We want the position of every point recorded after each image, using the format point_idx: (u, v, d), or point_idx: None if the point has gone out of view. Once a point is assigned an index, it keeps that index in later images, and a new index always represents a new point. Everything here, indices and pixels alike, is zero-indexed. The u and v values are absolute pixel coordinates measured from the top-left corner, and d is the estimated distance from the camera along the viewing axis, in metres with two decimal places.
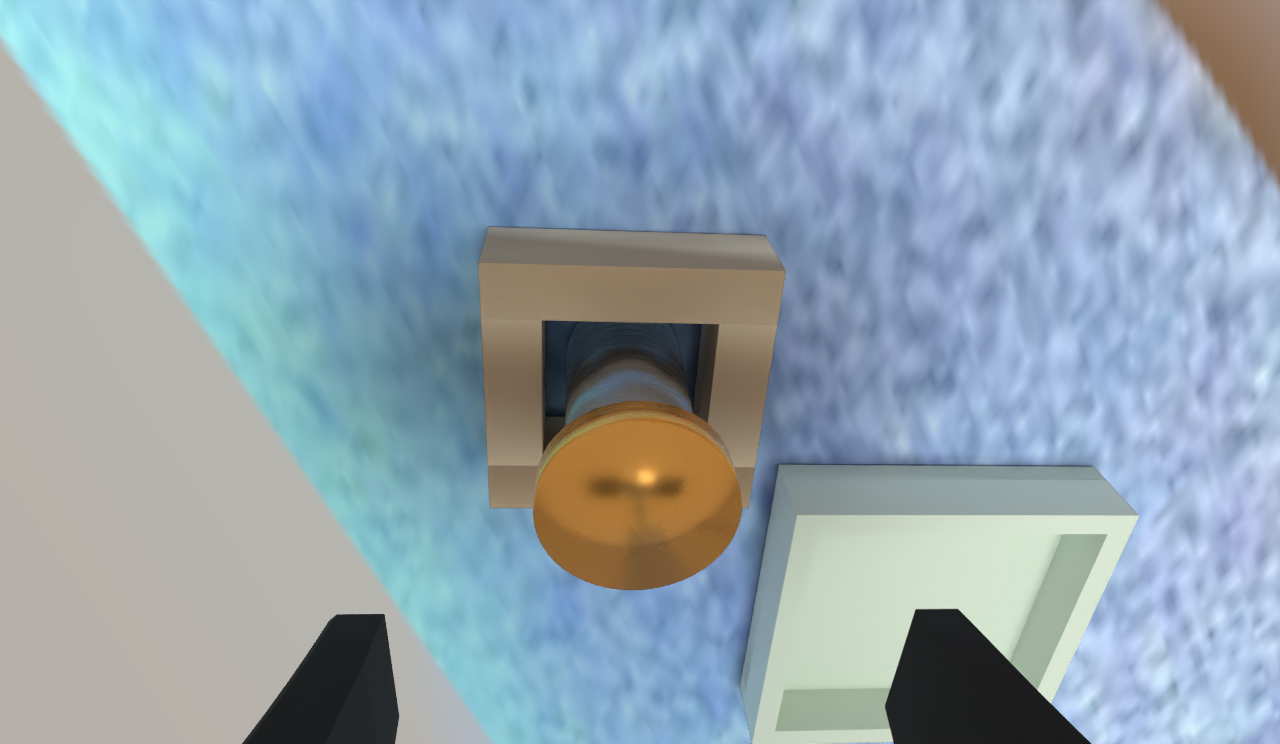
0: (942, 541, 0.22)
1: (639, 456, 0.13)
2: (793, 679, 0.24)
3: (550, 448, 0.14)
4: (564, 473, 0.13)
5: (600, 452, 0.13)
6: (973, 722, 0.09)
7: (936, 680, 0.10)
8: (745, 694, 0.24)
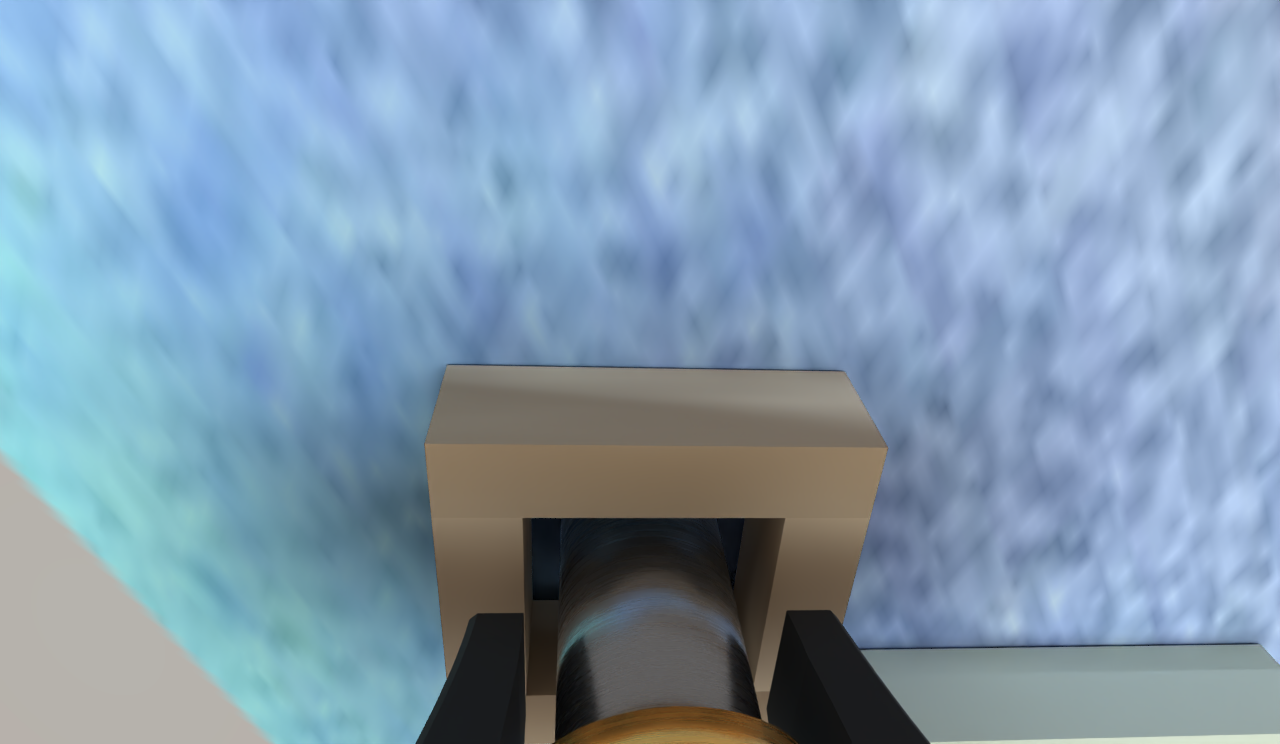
0: None
1: None
2: None
3: None
4: None
5: None
6: (824, 725, 0.09)
7: (799, 683, 0.10)
8: None
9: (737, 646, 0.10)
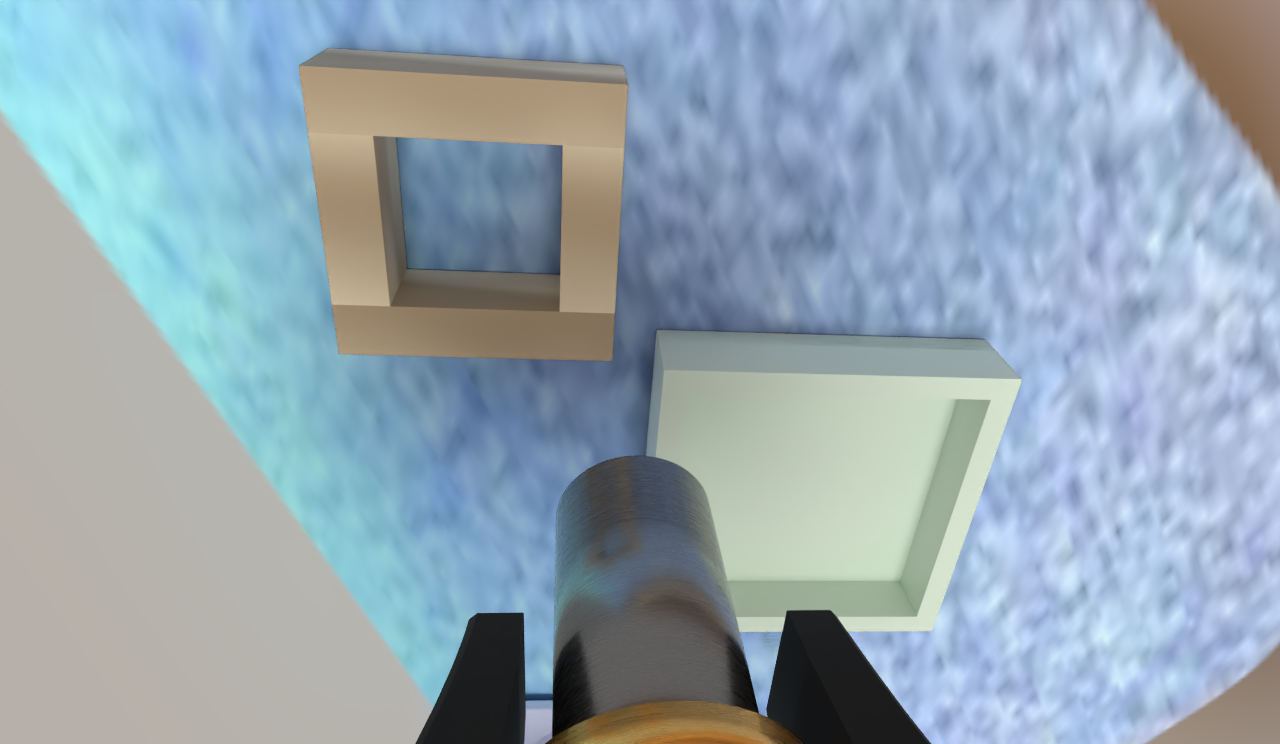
0: (829, 416, 0.21)
1: None
2: None
3: None
4: None
5: None
6: (825, 725, 0.09)
7: (800, 682, 0.10)
8: None
9: (733, 640, 0.10)
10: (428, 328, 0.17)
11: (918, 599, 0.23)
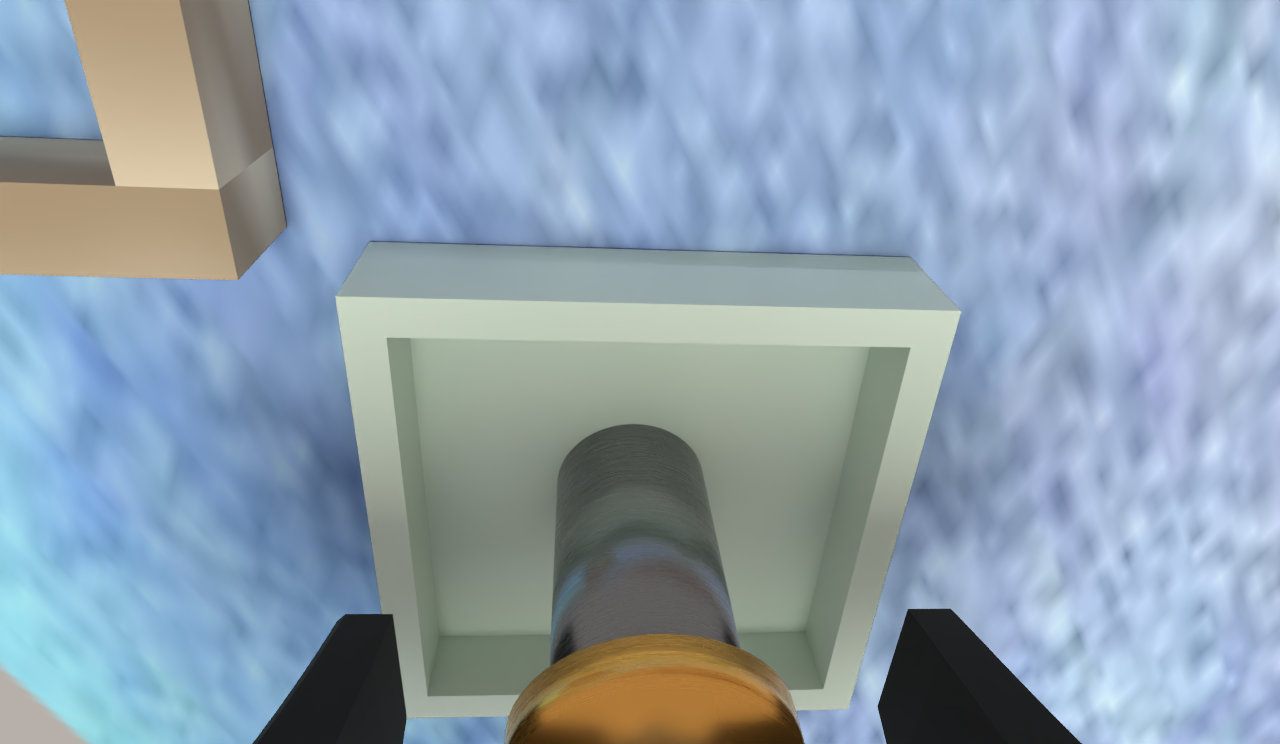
0: (664, 383, 0.13)
1: (656, 730, 0.09)
2: (479, 618, 0.16)
3: (523, 705, 0.09)
4: None
5: (596, 727, 0.09)
6: (964, 722, 0.09)
7: (928, 680, 0.10)
8: None
9: (718, 589, 0.11)
10: None
11: (825, 663, 0.15)
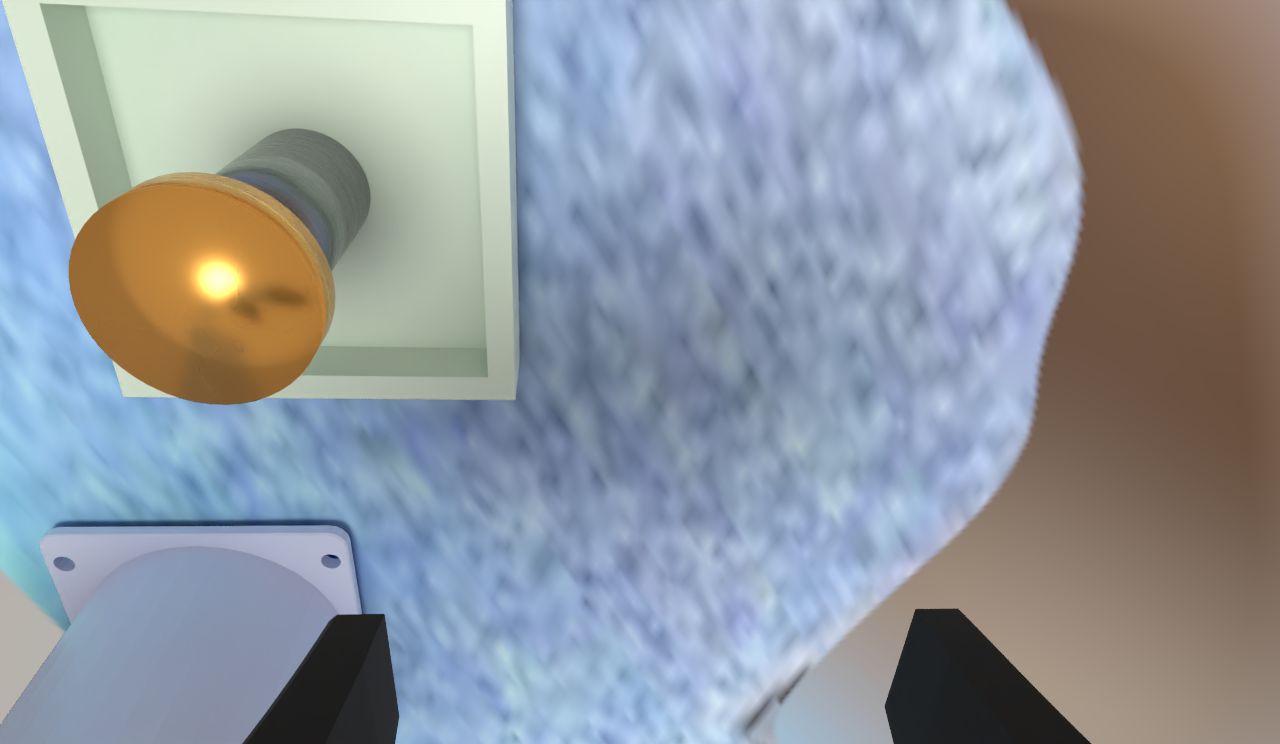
0: (316, 88, 0.16)
1: (174, 227, 0.12)
2: None
3: None
4: (93, 251, 0.12)
5: (126, 222, 0.12)
6: (973, 722, 0.09)
7: (936, 680, 0.10)
8: None
9: (304, 202, 0.14)
10: None
11: None
